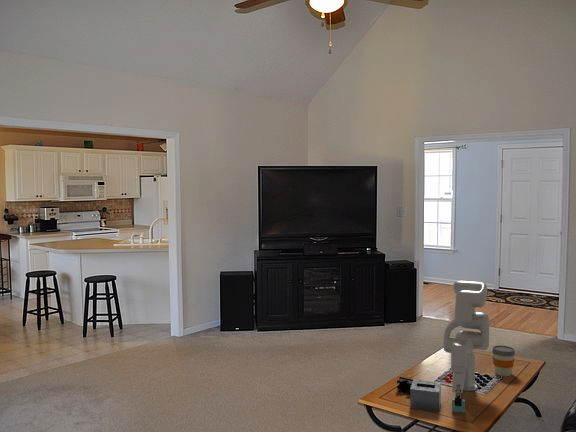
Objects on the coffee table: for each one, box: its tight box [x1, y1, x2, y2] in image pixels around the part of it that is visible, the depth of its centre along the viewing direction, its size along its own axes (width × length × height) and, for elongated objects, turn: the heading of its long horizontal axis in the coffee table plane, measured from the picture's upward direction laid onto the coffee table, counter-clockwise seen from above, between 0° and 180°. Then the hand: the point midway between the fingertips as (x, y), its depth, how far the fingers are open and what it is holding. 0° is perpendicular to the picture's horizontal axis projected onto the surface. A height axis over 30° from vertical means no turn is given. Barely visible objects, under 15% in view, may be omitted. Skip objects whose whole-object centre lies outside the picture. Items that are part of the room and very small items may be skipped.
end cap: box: [396, 376, 413, 395], centre depth 290 cm, size 10×7×7 cm
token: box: [451, 397, 466, 414], centre depth 263 cm, size 2×6×6 cm, turn 71°
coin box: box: [409, 378, 442, 413], centre depth 271 cm, size 14×14×10 cm
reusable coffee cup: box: [491, 345, 516, 377], centre depth 317 cm, size 13×13×15 cm
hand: (458, 402), depth 263 cm, fingers open, 9 cm apart
